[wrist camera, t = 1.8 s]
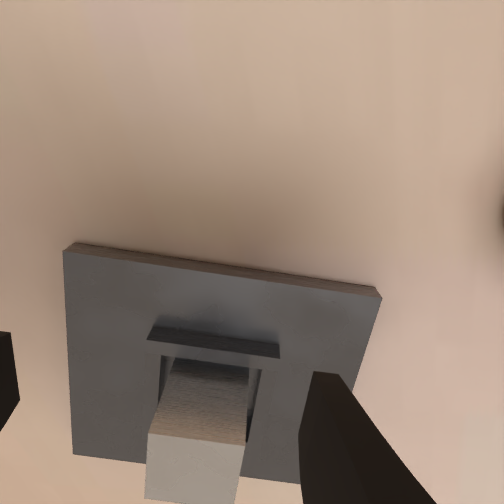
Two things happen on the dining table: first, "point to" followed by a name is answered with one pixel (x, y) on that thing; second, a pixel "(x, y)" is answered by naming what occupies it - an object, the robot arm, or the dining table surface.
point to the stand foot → (202, 346)
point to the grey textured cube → (198, 434)
